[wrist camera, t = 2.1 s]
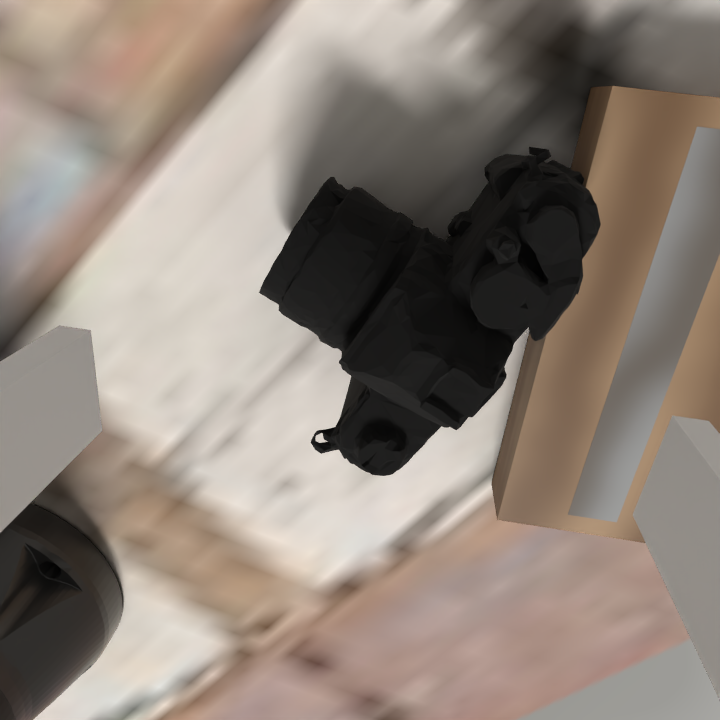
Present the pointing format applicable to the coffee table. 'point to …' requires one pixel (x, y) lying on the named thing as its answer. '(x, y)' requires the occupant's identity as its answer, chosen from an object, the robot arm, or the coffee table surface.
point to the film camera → (432, 298)
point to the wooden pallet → (623, 320)
